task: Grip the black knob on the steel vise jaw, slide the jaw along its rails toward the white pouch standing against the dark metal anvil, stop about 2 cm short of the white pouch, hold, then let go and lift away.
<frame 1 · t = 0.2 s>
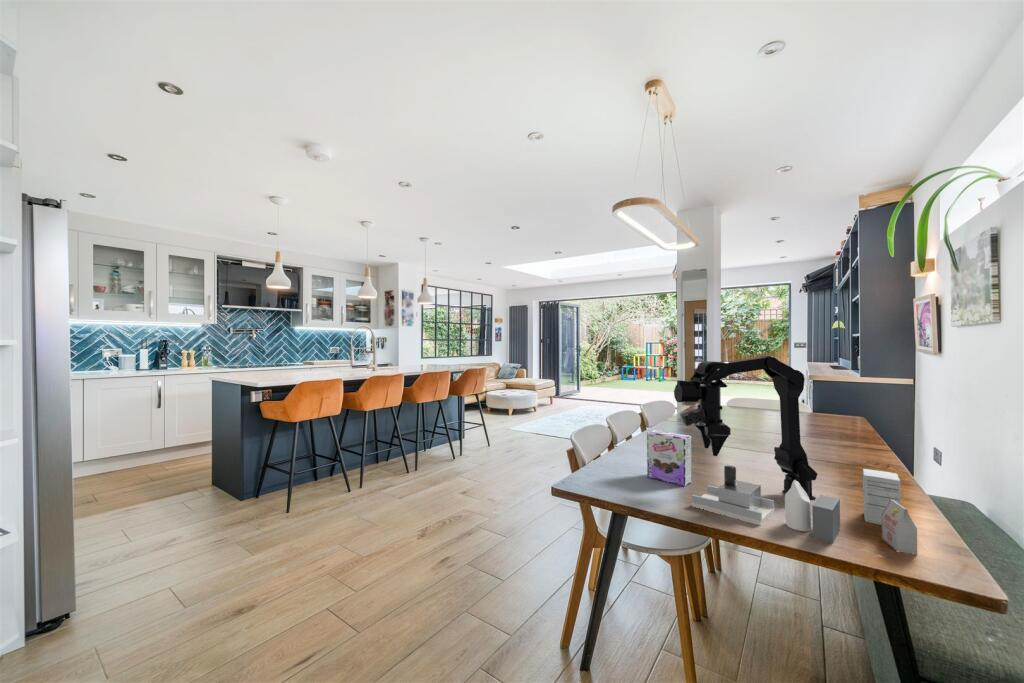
hand: (710, 451, 128), 14 cm above the table, tool pointing down, fingers open, 9 cm apart
vise bench: (776, 520, 111), on the table
gable top carton: (898, 547, 97), on the table
white pouch: (797, 527, 108), on the table
vise jaw: (739, 487, 118), point 7 cm above the table, slide at 0.0 cm
candy box: (668, 480, 145), on the table
supplement box: (881, 521, 111), on the table
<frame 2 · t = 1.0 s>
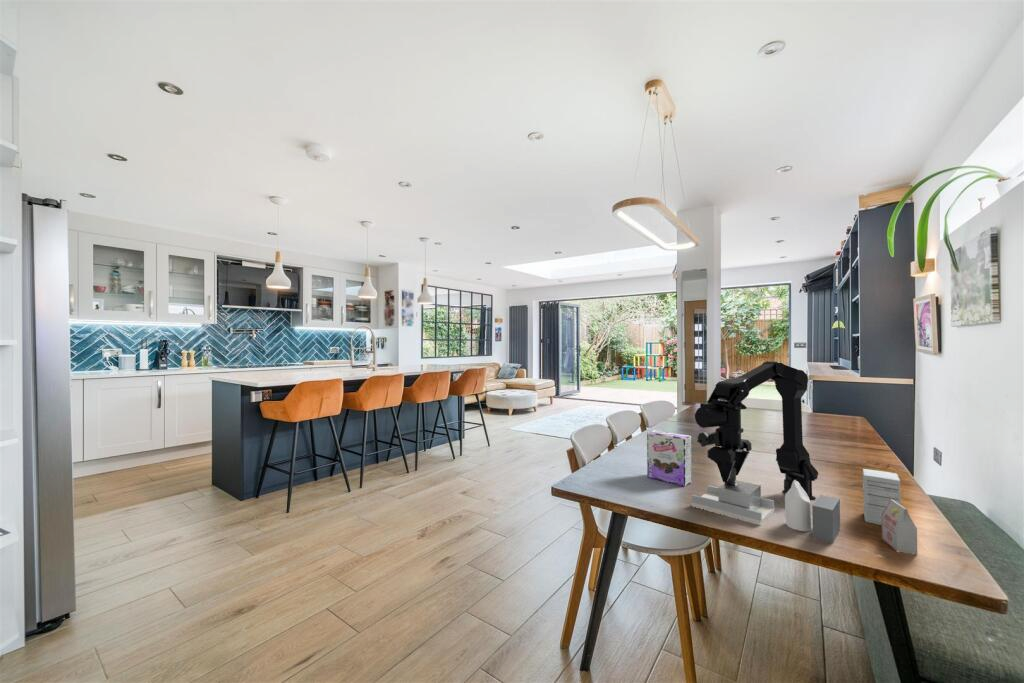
hand: (730, 478, 120), 9 cm above the table, tool pointing down, fingers open, 8 cm apart
nothing on the table moved.
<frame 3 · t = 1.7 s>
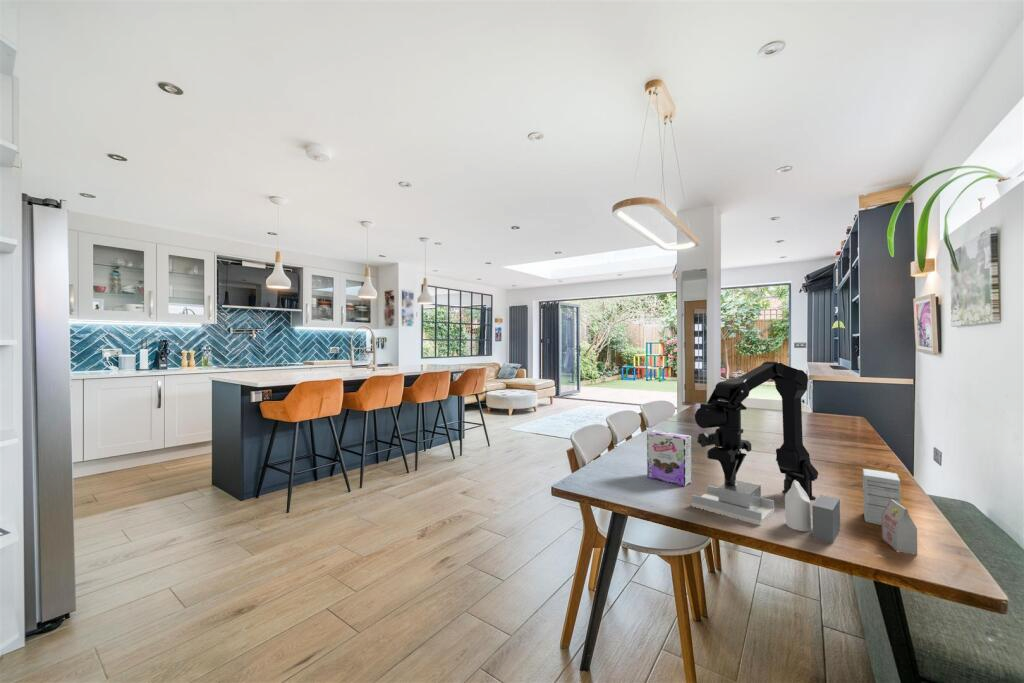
hand: (730, 479, 120), 9 cm above the table, tool pointing down, fingers closed on vise jaw, 3 cm apart
vise jaw: (739, 487, 118), point 7 cm above the table, slide at 0.0 cm, touching gripper
everything else where it was.
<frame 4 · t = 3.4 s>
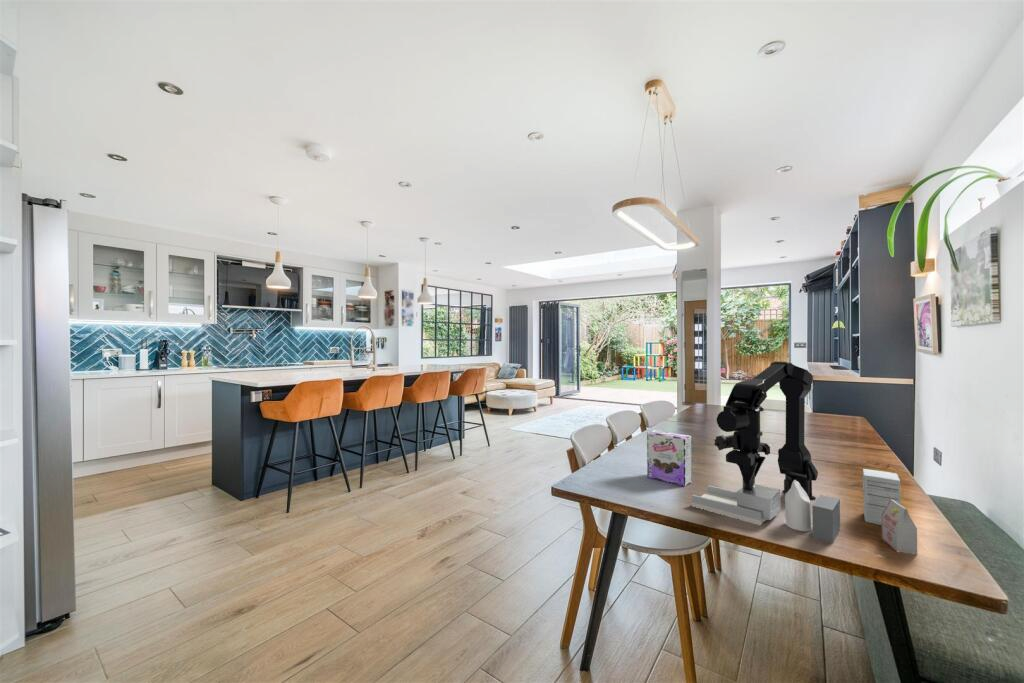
hand: (748, 483, 116), 9 cm above the table, tool pointing down, fingers closed on vise jaw, 3 cm apart
vise jaw: (758, 491, 114), point 7 cm above the table, slide at 4.9 cm, touching gripper
everything else where it was.
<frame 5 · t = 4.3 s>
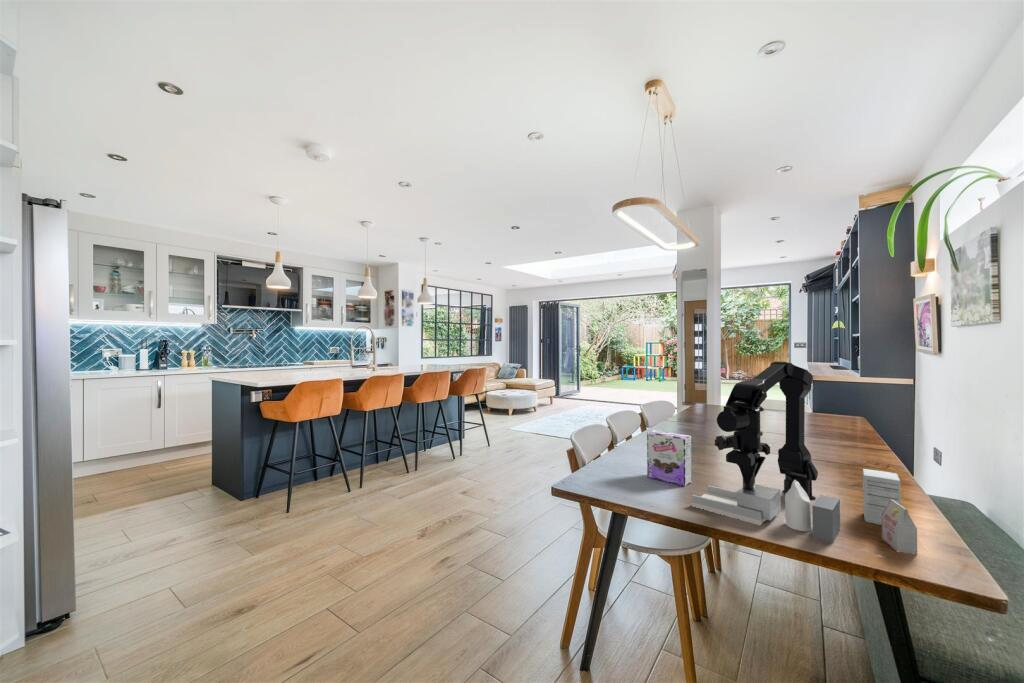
hand: (749, 483, 116), 9 cm above the table, tool pointing down, fingers closed on vise jaw, 3 cm apart
vise jaw: (758, 491, 114), point 7 cm above the table, slide at 4.9 cm, touching gripper
everything else where it was.
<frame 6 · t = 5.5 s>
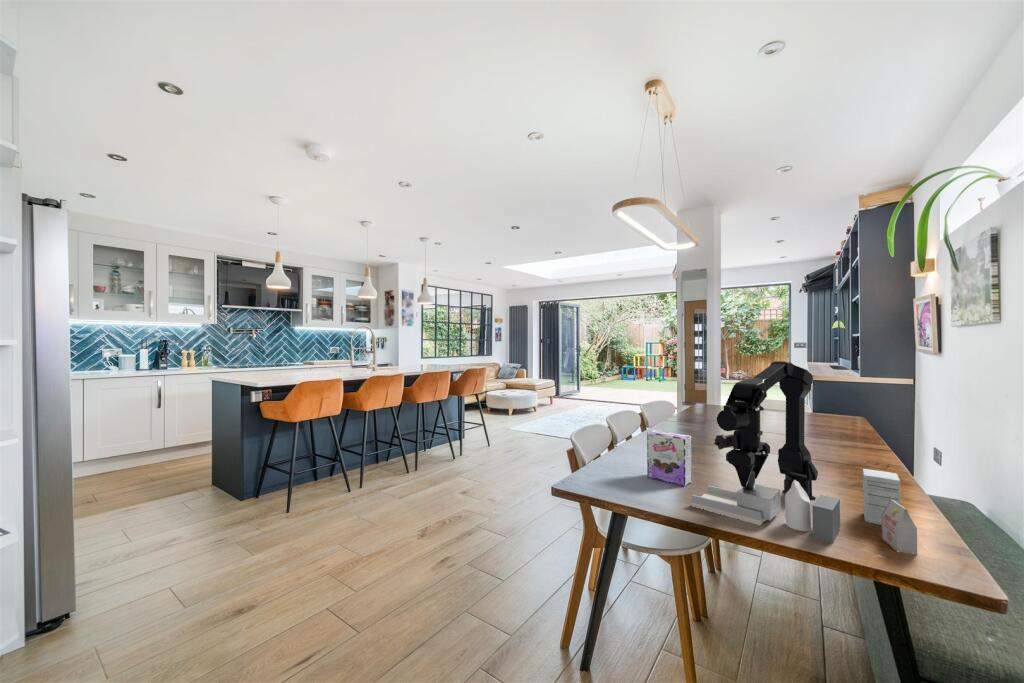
hand: (749, 482, 116), 9 cm above the table, tool pointing down, fingers open, 9 cm apart
vise jaw: (758, 491, 114), point 7 cm above the table, slide at 4.9 cm
everything else where it was.
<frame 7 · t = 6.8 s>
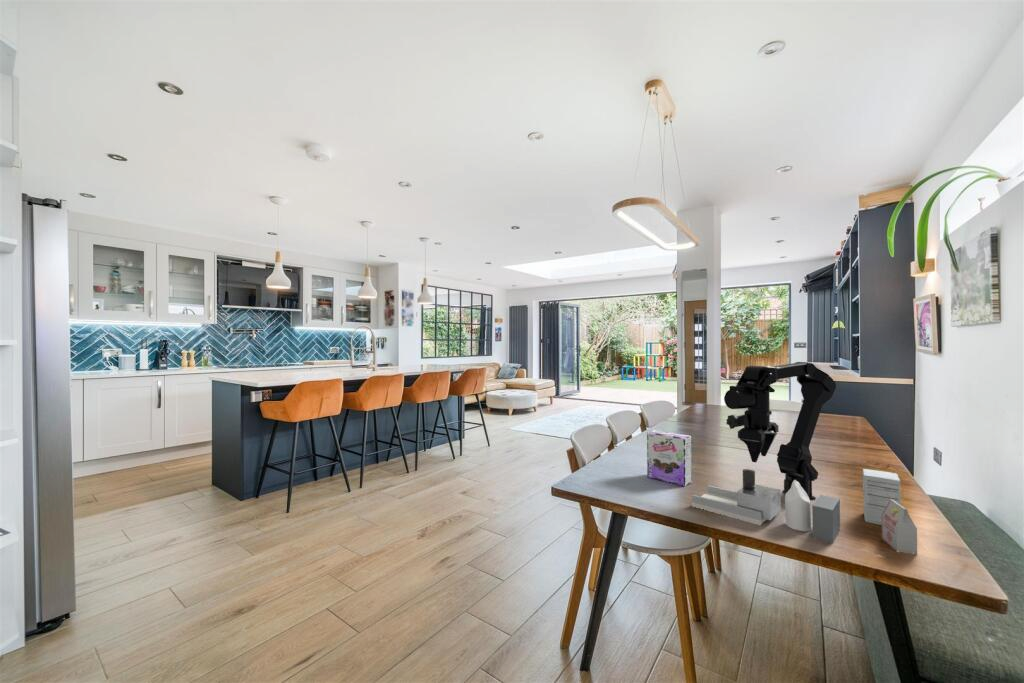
hand: (759, 458, 124), 13 cm above the table, tool pointing down, fingers open, 9 cm apart
nothing on the table moved.
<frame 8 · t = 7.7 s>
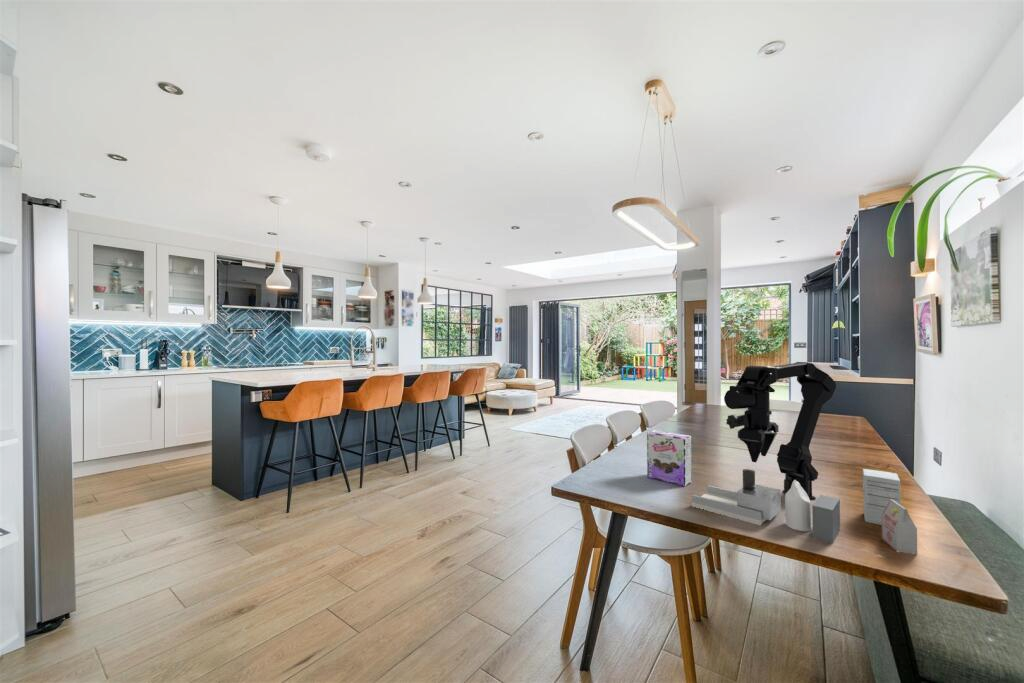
hand: (758, 458, 124), 13 cm above the table, tool pointing down, fingers open, 9 cm apart
nothing on the table moved.
at the end: vise jaw slide at 4.9 cm; white pouch moved 0.2 cm from its start; white pouch tilted 0° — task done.
